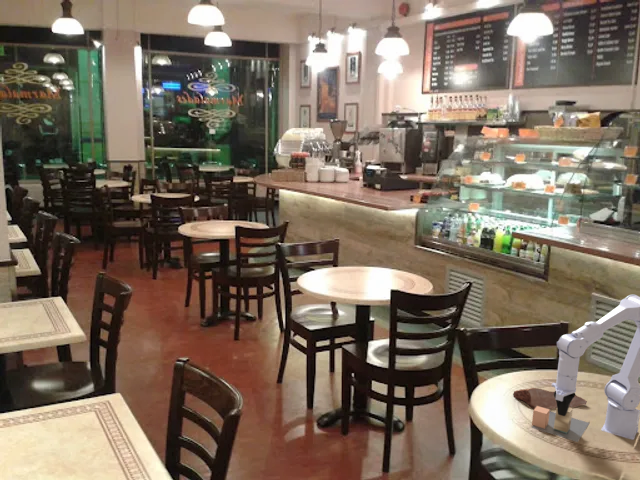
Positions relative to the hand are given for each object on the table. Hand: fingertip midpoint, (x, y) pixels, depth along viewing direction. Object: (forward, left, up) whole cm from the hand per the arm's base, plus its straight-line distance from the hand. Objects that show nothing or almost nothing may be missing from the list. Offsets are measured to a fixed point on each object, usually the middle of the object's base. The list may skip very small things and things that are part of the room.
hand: (561, 414), depth 194 cm
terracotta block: (+6, -2, -6) cm, 9 cm away
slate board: (+1, -6, -7) cm, 9 cm away
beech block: (0, -3, -6) cm, 6 cm away
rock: (+9, -22, -7) cm, 25 cm away
